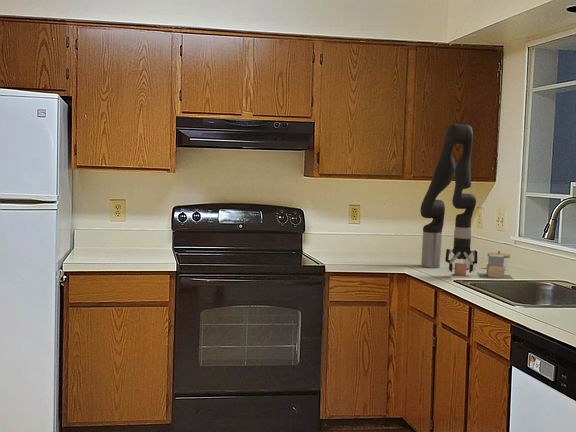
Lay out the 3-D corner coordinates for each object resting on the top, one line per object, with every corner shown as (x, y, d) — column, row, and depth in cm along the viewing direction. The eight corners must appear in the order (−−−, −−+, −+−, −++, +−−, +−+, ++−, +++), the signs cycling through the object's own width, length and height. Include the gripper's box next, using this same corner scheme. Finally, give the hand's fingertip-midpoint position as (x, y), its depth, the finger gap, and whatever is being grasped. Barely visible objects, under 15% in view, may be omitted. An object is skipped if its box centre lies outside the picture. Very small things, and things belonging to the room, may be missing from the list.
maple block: (486, 274, 348) (487, 263, 347) (501, 275, 347) (502, 264, 346) (488, 276, 341) (488, 266, 340) (504, 277, 340) (504, 266, 339)
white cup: (458, 269, 367) (460, 248, 366) (472, 268, 370) (473, 248, 369) (468, 271, 360) (469, 251, 359) (482, 271, 362) (483, 250, 361)
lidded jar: (511, 269, 372) (512, 250, 371) (506, 272, 362) (507, 253, 362) (490, 267, 377) (491, 248, 376) (484, 269, 368) (485, 250, 367)
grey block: (488, 264, 347) (488, 254, 346) (501, 264, 346) (502, 255, 345) (489, 265, 341) (490, 256, 340) (503, 266, 340) (504, 256, 339)
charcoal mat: (476, 274, 351) (476, 272, 351) (509, 276, 349) (509, 274, 349) (479, 279, 338) (480, 277, 338) (514, 281, 336) (514, 279, 336)
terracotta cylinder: (453, 275, 347) (454, 262, 346) (465, 276, 346) (465, 263, 346) (454, 277, 342) (455, 264, 341) (466, 277, 341) (466, 264, 340)
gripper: (477, 237, 345) (475, 271, 346) (446, 235, 347) (444, 270, 348) (479, 238, 337) (477, 274, 339) (447, 237, 339) (445, 272, 341)
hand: (460, 272), depth 343 cm, fingers open, 8 cm apart
